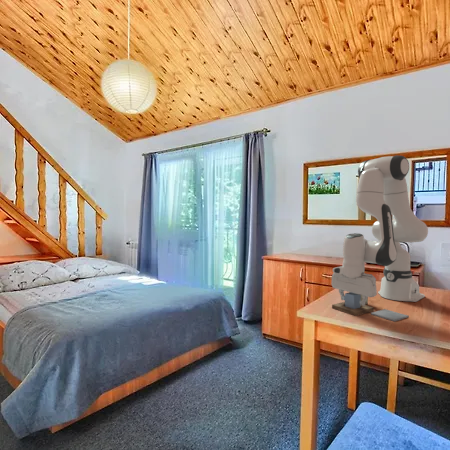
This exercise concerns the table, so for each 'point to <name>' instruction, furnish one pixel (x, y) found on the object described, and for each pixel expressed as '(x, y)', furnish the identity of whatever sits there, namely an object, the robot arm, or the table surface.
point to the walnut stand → (352, 311)
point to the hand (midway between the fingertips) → (352, 302)
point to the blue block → (352, 300)
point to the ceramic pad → (389, 315)
